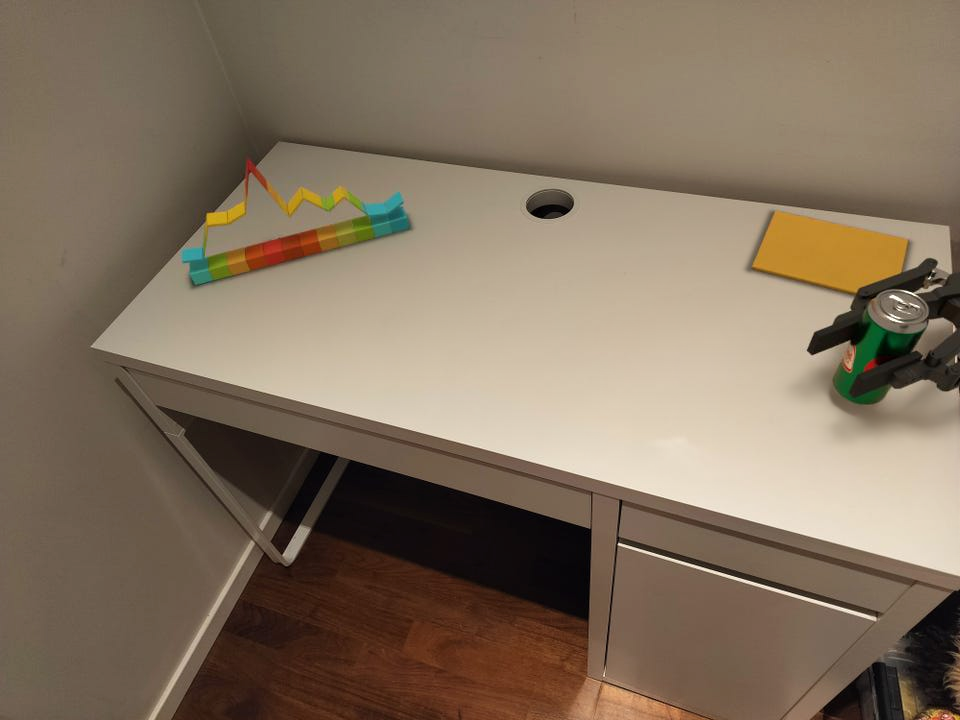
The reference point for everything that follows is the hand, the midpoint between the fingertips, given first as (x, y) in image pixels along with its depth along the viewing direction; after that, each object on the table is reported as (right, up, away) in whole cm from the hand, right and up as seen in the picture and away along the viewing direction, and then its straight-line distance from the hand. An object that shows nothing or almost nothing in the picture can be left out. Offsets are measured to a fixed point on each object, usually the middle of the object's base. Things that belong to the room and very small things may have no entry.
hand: (834, 364), depth 63 cm
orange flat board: (+10, +13, +21) cm, 27 cm away
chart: (-58, +16, +32) cm, 68 cm away
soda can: (+6, -3, +6) cm, 9 cm away
